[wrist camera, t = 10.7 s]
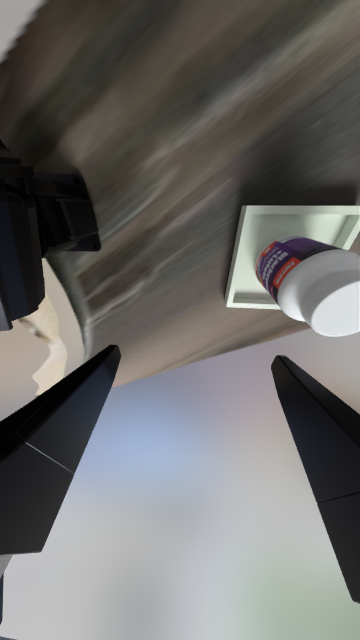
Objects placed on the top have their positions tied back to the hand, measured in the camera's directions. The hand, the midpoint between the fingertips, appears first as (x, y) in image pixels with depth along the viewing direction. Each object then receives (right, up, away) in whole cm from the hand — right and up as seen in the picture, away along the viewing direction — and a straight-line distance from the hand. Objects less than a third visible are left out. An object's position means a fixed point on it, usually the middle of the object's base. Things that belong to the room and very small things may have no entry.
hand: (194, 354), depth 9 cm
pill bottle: (+10, +8, +8) cm, 15 cm away
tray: (+10, +8, +8) cm, 16 cm away
